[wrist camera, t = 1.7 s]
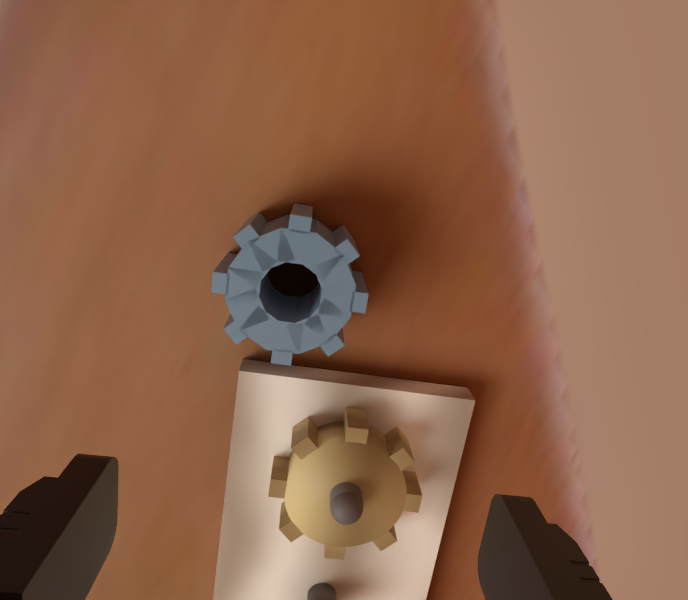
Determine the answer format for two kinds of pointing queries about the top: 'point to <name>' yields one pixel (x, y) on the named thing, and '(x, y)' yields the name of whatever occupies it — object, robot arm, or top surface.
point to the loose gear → (287, 311)
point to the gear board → (304, 557)
